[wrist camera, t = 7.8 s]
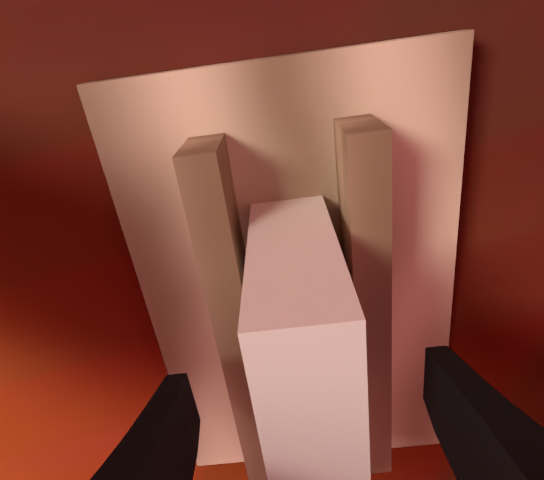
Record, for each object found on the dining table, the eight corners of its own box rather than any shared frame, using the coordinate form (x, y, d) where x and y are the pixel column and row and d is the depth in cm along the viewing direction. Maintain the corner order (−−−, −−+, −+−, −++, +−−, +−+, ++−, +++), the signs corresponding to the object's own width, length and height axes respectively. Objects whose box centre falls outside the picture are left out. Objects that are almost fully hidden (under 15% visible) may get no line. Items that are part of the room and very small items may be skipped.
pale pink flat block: (280, 391, 18) (287, 577, 12) (250, 204, 14) (237, 333, 8) (338, 385, 18) (375, 570, 12) (323, 195, 14) (368, 319, 8)
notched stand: (200, 448, 21) (188, 518, 18) (89, 82, 13) (34, 95, 10) (433, 426, 21) (462, 495, 18) (460, 29, 13) (522, 27, 10)
